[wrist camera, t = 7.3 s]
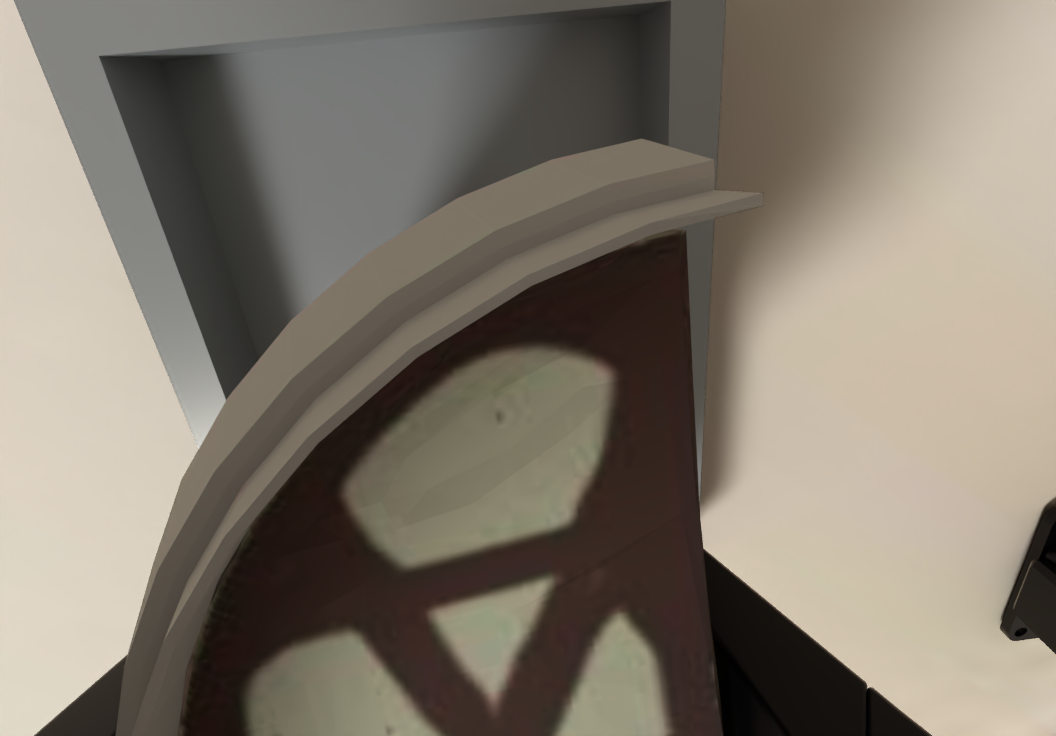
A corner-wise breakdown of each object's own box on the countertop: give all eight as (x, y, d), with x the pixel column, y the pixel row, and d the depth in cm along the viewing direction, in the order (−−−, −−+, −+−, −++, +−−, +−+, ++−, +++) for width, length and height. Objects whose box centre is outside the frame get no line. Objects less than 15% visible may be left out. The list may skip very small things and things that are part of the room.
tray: (674, -40, 13) (730, -74, 10) (663, 549, 20) (693, 620, 17) (112, 13, 12) (10, -8, 9) (316, 595, 20) (292, 675, 17)
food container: (220, 212, 12) (-398, 253, 3) (506, 173, 13) (764, 106, 4) (350, 673, 16) (274, 1358, 6) (566, 617, 17) (772, 1143, 7)
